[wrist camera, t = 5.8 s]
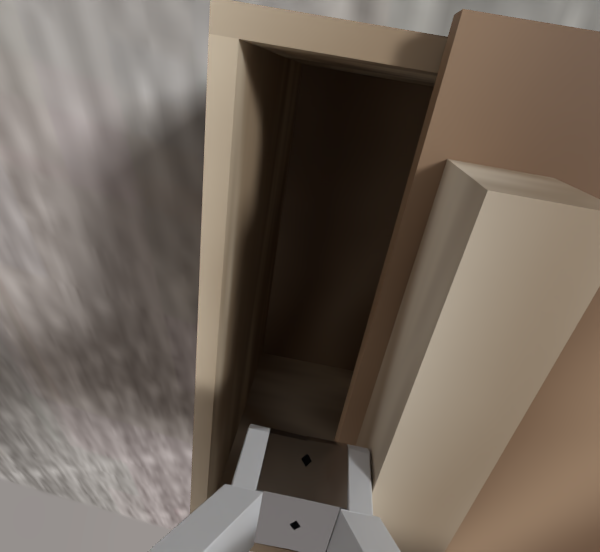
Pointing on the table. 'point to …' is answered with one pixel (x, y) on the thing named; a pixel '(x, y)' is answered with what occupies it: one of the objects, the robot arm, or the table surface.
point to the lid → (492, 304)
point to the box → (295, 216)
